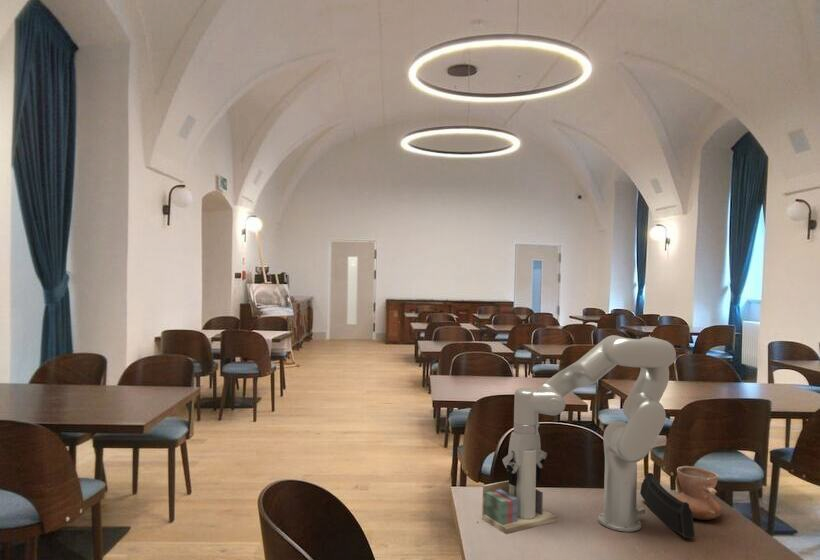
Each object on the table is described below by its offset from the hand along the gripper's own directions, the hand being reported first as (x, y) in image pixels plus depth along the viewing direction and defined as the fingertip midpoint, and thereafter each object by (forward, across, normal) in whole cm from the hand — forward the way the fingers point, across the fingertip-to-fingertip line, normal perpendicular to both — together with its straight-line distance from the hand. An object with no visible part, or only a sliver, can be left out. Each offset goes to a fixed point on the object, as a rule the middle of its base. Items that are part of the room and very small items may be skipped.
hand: (524, 482), depth 177 cm
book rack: (+12, +1, 0) cm, 12 cm away
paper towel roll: (+10, 0, 0) cm, 10 cm away
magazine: (+12, -41, +20) cm, 48 cm away
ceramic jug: (+12, -55, +22) cm, 60 cm away
